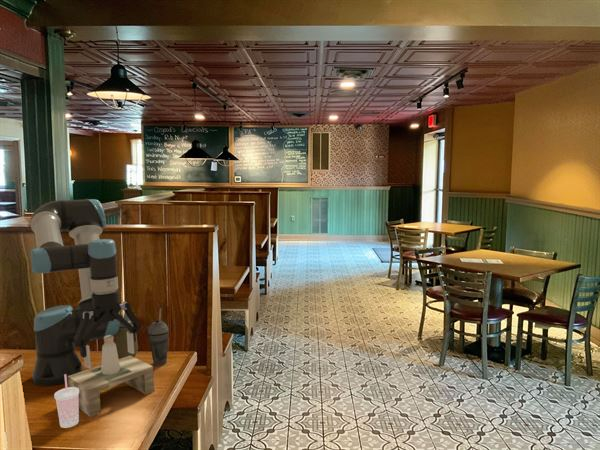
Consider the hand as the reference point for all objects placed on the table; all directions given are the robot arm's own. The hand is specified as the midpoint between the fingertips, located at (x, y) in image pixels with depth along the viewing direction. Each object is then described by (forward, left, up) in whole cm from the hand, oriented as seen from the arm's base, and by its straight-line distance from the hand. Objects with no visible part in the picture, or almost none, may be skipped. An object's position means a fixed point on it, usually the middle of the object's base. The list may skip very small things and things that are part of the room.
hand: (110, 359), depth 139 cm
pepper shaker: (0, 0, -4) cm, 4 cm away
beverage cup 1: (+6, -15, -12) cm, 20 cm away
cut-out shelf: (0, 0, -12) cm, 12 cm away
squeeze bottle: (-24, +17, -12) cm, 32 cm away
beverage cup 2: (-11, +23, -12) cm, 28 cm away
